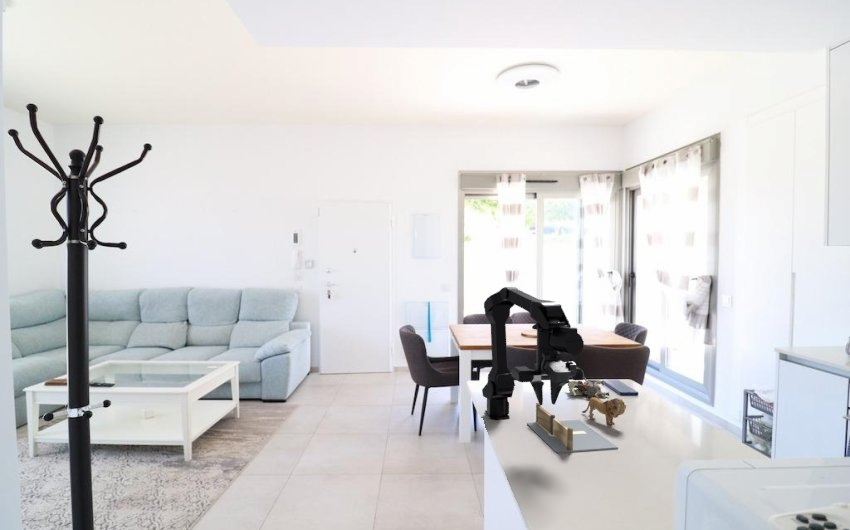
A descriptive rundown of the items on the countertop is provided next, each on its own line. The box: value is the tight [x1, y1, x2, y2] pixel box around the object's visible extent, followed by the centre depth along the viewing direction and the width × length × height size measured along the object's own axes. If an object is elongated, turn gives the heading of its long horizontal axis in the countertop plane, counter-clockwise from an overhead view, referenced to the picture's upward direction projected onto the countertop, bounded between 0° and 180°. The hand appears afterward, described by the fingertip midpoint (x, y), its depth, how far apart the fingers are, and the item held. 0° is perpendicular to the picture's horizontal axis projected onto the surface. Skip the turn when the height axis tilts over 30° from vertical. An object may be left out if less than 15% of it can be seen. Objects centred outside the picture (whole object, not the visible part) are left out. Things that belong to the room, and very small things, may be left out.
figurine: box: [567, 376, 610, 400], centre depth 148 cm, size 20×6×17 cm
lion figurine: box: [581, 397, 627, 428], centre depth 123 cm, size 15×5×9 cm, turn 34°
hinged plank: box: [553, 417, 573, 451], centre depth 106 cm, size 9×1×6 cm, turn 9°
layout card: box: [526, 419, 619, 454], centre depth 112 cm, size 18×19×1 cm
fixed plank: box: [535, 402, 556, 435], centre depth 116 cm, size 1×11×6 cm, turn 9°
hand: (547, 404), depth 104 cm, fingers open, 3 cm apart
